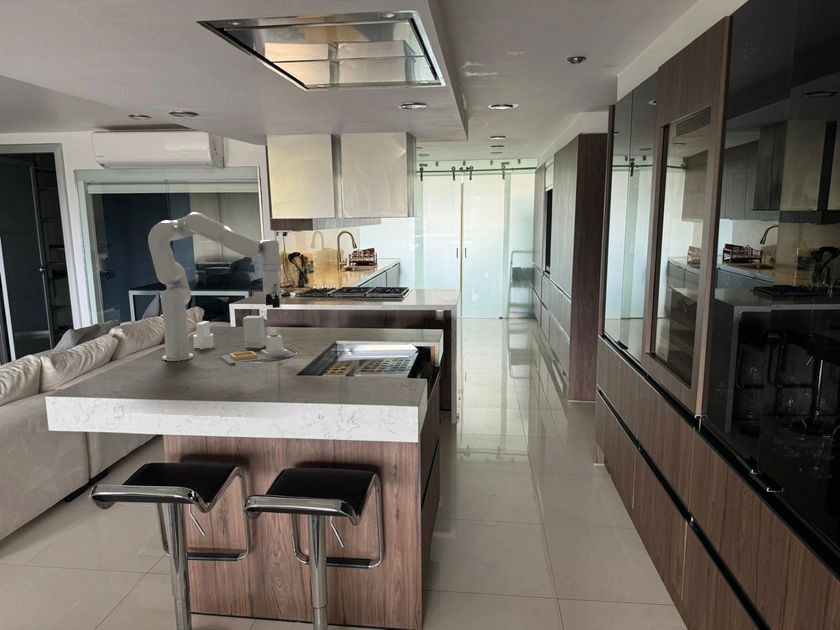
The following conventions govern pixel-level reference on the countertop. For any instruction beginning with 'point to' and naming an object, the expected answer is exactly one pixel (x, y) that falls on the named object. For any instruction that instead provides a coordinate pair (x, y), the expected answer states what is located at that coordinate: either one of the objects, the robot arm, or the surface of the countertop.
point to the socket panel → (254, 356)
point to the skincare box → (254, 331)
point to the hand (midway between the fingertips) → (272, 306)
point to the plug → (274, 343)
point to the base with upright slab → (203, 336)
